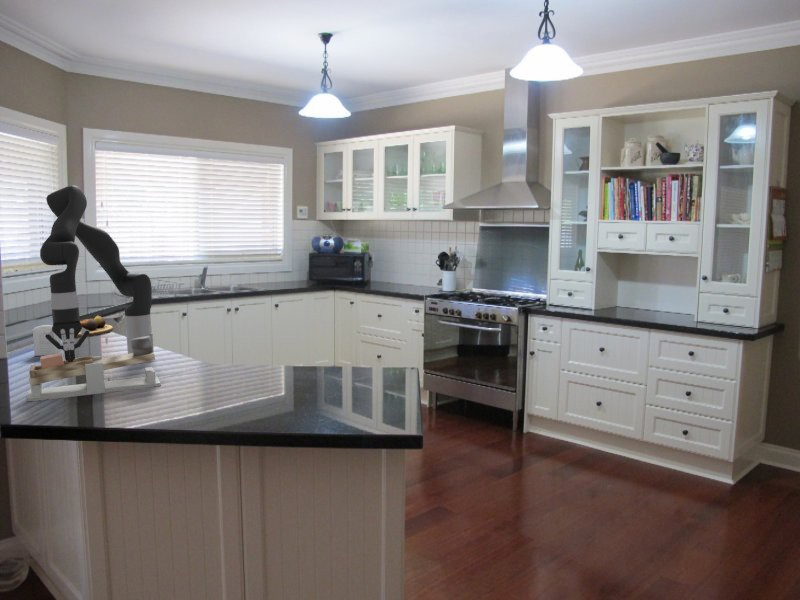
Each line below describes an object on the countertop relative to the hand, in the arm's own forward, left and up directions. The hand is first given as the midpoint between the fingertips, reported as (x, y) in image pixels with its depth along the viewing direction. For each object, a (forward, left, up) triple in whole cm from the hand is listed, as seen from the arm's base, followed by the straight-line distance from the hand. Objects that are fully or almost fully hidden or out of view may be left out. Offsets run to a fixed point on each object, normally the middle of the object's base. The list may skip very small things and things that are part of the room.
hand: (70, 361), depth 210 cm
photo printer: (+9, -73, -10) cm, 75 cm away
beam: (-7, 0, -3) cm, 8 cm away
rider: (+5, 0, -3) cm, 5 cm away
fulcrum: (-7, 0, -10) cm, 12 cm away
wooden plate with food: (-1, -129, -11) cm, 129 cm away
